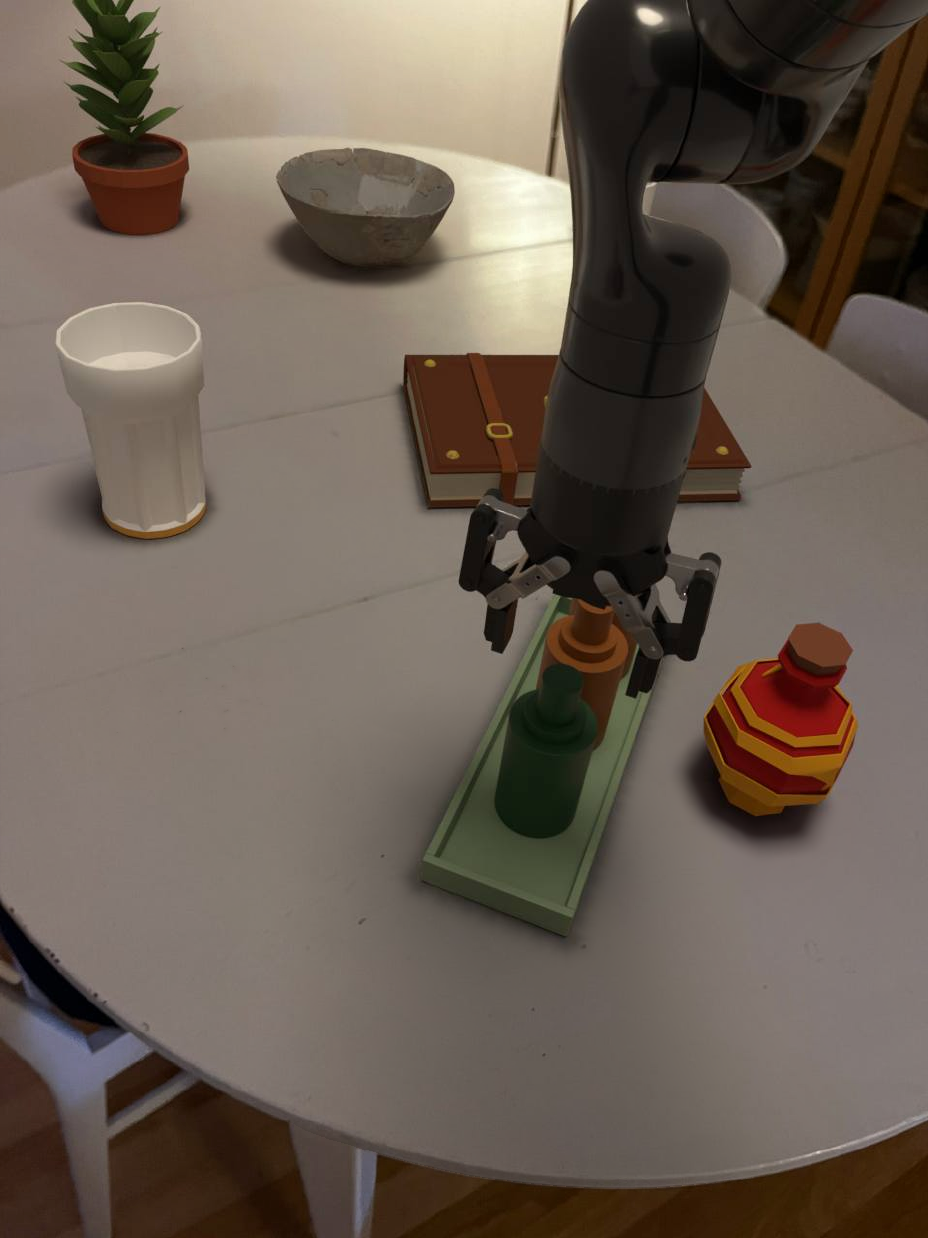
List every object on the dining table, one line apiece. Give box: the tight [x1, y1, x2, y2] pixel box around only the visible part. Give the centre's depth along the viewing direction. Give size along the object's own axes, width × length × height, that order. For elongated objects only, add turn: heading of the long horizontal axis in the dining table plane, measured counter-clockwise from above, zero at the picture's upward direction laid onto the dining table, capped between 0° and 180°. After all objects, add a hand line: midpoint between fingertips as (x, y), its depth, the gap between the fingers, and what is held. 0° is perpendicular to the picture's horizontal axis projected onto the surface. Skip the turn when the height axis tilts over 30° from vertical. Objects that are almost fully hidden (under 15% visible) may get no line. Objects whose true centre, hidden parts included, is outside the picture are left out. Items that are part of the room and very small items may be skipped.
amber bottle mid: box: [536, 599, 628, 750], centre depth 73 cm, size 6×6×13 cm
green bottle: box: [494, 664, 598, 838], centre depth 68 cm, size 6×6×13 cm
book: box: [402, 352, 753, 508], centre depth 106 cm, size 23×32×5 cm
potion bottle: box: [702, 622, 859, 817], centre depth 70 cm, size 10×10×15 cm
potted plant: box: [57, 0, 190, 236], centre depth 128 cm, size 15×15×30 cm
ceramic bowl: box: [275, 147, 456, 268], centre depth 132 cm, size 22×23×10 cm
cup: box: [54, 301, 207, 540], centre depth 87 cm, size 11×11×17 cm
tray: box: [420, 594, 665, 937], centre depth 76 cm, size 29×10×2 cm, turn 159°
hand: (567, 666), depth 62 cm, fingers open, 8 cm apart
